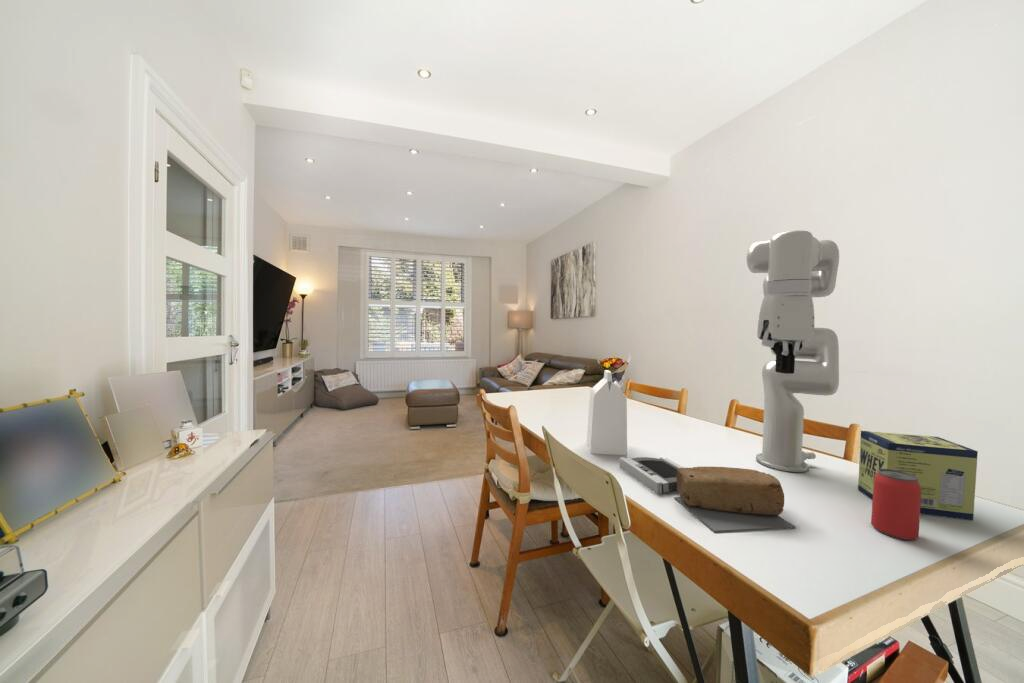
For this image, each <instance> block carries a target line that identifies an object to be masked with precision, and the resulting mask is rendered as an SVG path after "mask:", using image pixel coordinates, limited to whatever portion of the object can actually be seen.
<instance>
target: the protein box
mask: <svg viewBox="0 0 1024 683" xmlns="http://www.w3.org/2000/svg"><path fill="white" fill-rule="evenodd" d="M859 441H860V442H859V444H860V445H859V463H858V485H857V490H858V491H859V492H861V493H862V494H863V495H864V496H866V497H868V498H869V499H871V500H872V501H873V484H874V478H875V475H876V474H877V473H878V470H879V469H892V470H898V471H902V472H906V473H909V474H912V475H914V476H916V477H917V478H918V482H919V484H920V487H921V491H922V492H921V507H920V515H928V516H934V517H935V516H936V517H941V518H942V517H944V518H950V519H956V520H957V519H958V520H963V521H965V520H966V521H974V515H975V514H974V513H975V512H974V511H975V499H976V498H975V496H976V485H977V484H976V483H977V482H976V481H977V466H978V452H979V451H978V450H975V449H972V448H970V447H967V446H964V445H962V444H958V443H956V442H953V441H950V440H948V439H945V438H941V437H939V436H930V435H921V434H920V435H917V434H907V433H906V434H904V433H895V432H893V433H892V432H891V433H890V432H880V431H868V430H861V431H860V440H859Z"/></svg>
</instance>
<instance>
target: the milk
mask: <svg viewBox="0 0 1024 683" xmlns="http://www.w3.org/2000/svg"><path fill="white" fill-rule="evenodd" d="M612 375H613V374H612V371H610V369H605V370H604V373H603V378H602V379H600V380H599V381H598V382H597V383H596V384H595V385H594V386H593V387H592V388H591V389H590V391H589V400H588V415H587V430H586V443H587V444H586V445H587V447H588V450H589V453H590V454H597V455H598V454H599V455H616V456H617V455H619V456H628V412H627V411H628V408H627V406H628V404H627V402H628V400H627V395H626V394H625V392H623V391H622V390H621V388H622V386H621V385H620V384H619V382H618V381H617V380H615V381H614V382H613V376H612Z"/></svg>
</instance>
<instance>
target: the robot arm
mask: <svg viewBox="0 0 1024 683" xmlns="http://www.w3.org/2000/svg"><path fill="white" fill-rule="evenodd" d="M746 254H747V255H746V264H747V267H748V270H749V272H751V273H752V274H767V275H766V276H765V277H764V280H763V283H762V290H763V299H762V302H761V306H760V309H759V310H760V311H759V315H758V321H757V335H756V336H757V338H758V339H759V340H761V346H763V347H766V348H770V349H769V350H770V352H771V354H772V355H773V356H775V359H773V360H769V361H767V362H766V363H764V365H763V366H762V372H761V375H762V376H761V377H762V383H763V394H764V400H763V401H764V404H763V408H764V409H763V425H762V426H763V427H762V430H763V431H762V450H761V453H757V454H756V455H755V461H757V463H759V464H760V465H762V466H766V467H768V468H771V469H775V470H779V471H782V472H783V471H785V472H789V473H790V472H792V473H804V472H807V471H808V470H809V465H808V463H806V462H805V461H807V460H815V459H816V458H817V455H816V454H815V452H812V451H811V452H810V451H809V452H806V451H803V439H804V438H803V437H804V420H805V419H804V416H805V410H804V406H803V405H802V403H801V402H800V400H798V398H797V397H796V396H795V395H794V394H802V395H803V394H804V395H812V396H813V395H814V396H824V397H826V396H832V395H835V394H836V393H837V391H838V389H839V386H840V385H839V384H840V361H839V360H840V356H839V355H840V350H839V349H840V348H839V338H838V335H837V333H836V332H835V330H833V329H830V328H827V327H815V309H814V307H815V306H814V302H813V301H814V300H813V298H825V297H827V296H830V295H831V294H832V293H833V292H834V291H835V288H836V283H837V277H838V271H839V270H838V269H839V263H840V251H839V247H838V245H837V243H836V242H834V240H829V239H823V240H822V239H821V240H818V238H816V237H814V236H813V234H812V232H811V231H808V230H789V231H784V232H780V233H777V234H775V235H773V236H772V237H771V239H770V240H762V241H756V242H753V243H752V244H751V245H750V246H749V248H748V250H747V253H746ZM797 359H799V360H797ZM808 360H810V361H808ZM811 360H813V361H811Z"/></svg>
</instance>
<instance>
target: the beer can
mask: <svg viewBox="0 0 1024 683" xmlns="http://www.w3.org/2000/svg"><path fill="white" fill-rule="evenodd" d="M921 492H922V491H921V487H920V484H919V482H918V478H917V477H916V476H914V475H912V474H909V473H906V472H902V471H898V470H892V469H879V470H878V473H877V474H876V475H875V478H874V484H873V500H872V502H871V503H872V505H871V520H870V521H871V522H870V524H871V526H873V528H874V529H876V530H877V531H878V532H880V533H882V534H885V535H887V536H889V537H891V538H892V537H893V538H895V539H899V540H905V541H913V540H917V539H918V538H919V535H920V534H919V533H920V522H921V521H920V518H921V514H920V507H921Z"/></svg>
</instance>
